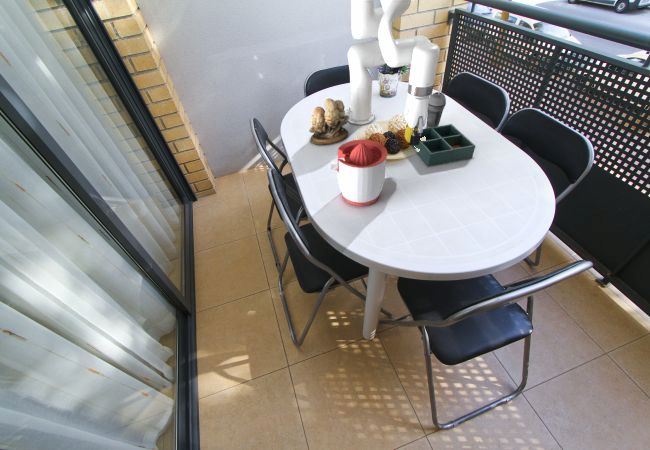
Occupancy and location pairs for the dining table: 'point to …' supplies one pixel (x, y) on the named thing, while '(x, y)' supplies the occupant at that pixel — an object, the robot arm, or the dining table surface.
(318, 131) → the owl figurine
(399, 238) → the dining table surface
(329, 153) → the dining table surface
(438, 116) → the beverage cup
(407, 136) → the lemon
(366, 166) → the citrus juicer
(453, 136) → the divided storage tray
